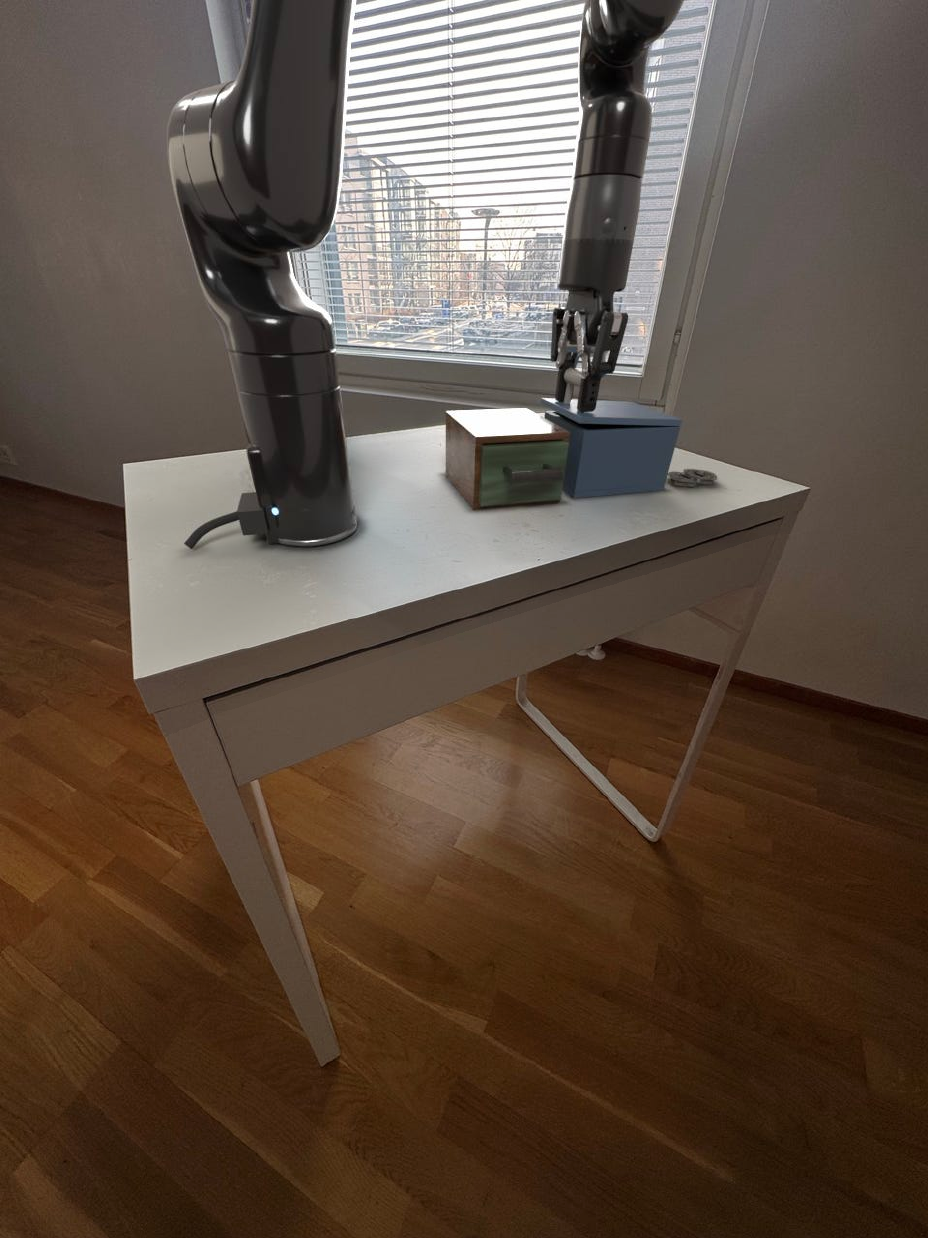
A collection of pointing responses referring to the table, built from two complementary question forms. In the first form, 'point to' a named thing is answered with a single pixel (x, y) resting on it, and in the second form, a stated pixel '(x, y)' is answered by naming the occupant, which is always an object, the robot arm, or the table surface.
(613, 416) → the lid
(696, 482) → the corroded twin loop
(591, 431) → the chest
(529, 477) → the drawer
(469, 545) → the table surface
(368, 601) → the table surface
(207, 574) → the table surface
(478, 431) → the cabinet
